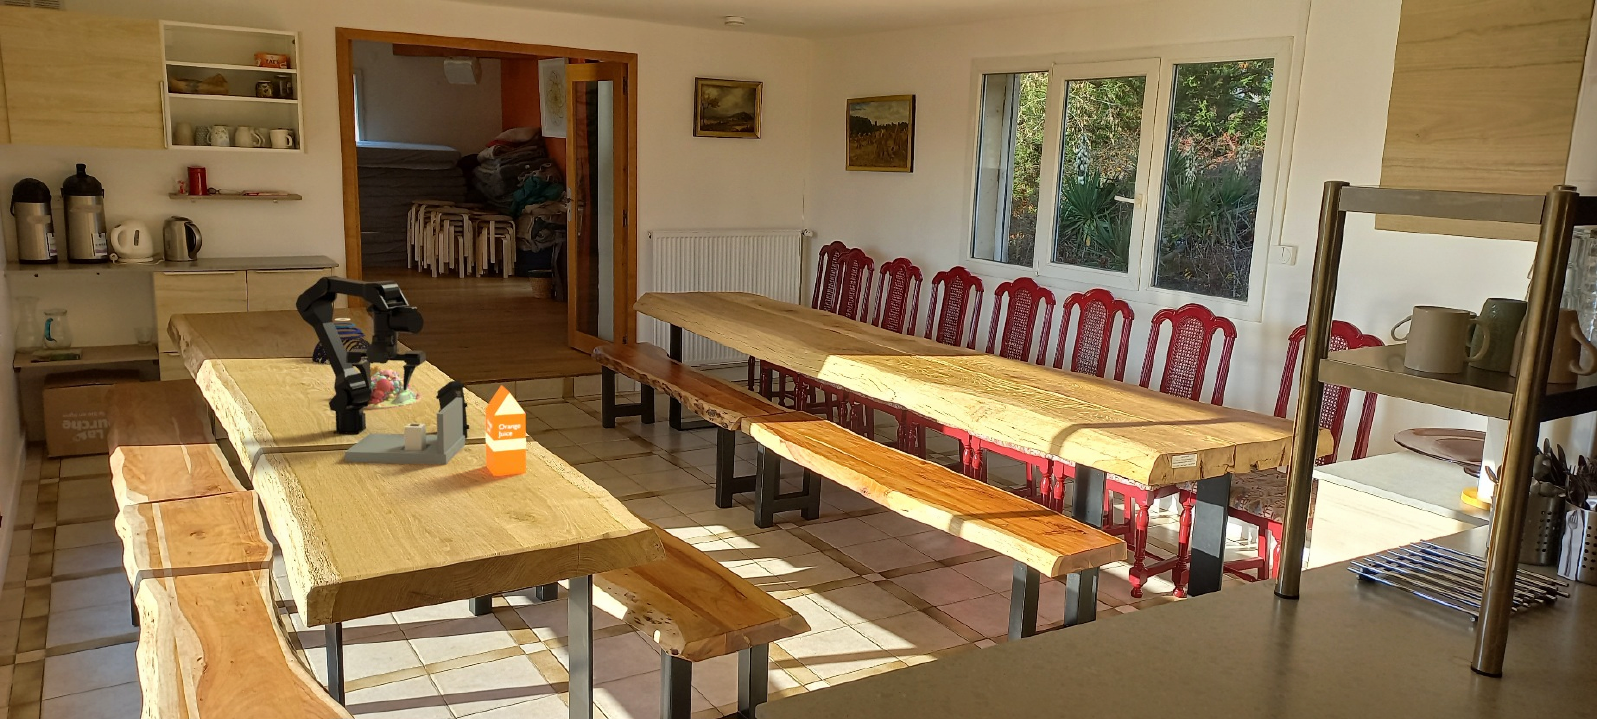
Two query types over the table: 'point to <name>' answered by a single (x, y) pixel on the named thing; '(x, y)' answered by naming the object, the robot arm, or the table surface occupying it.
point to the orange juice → (505, 435)
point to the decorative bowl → (320, 349)
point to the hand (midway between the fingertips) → (387, 389)
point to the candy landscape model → (389, 390)
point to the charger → (415, 436)
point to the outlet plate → (436, 452)
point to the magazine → (449, 394)
